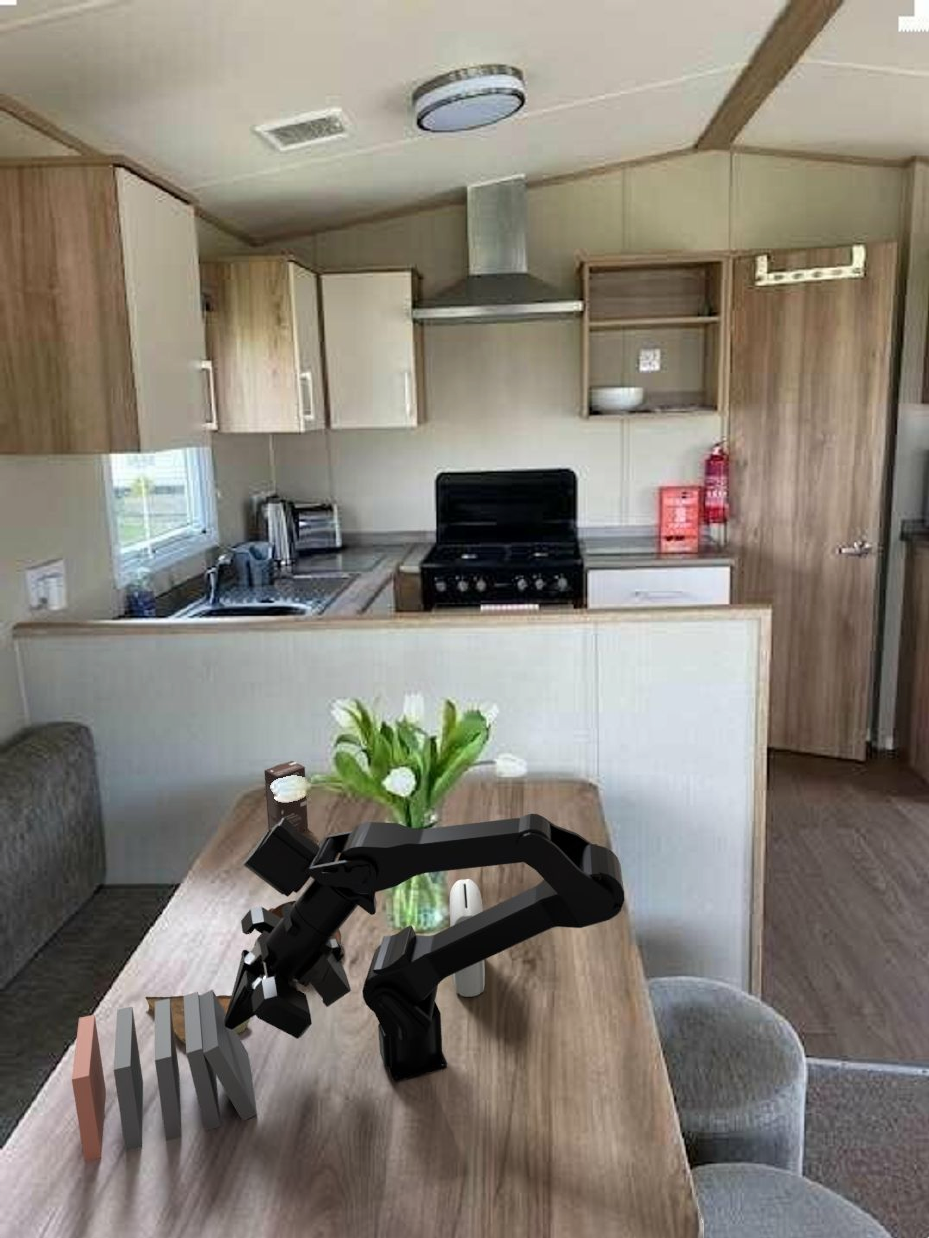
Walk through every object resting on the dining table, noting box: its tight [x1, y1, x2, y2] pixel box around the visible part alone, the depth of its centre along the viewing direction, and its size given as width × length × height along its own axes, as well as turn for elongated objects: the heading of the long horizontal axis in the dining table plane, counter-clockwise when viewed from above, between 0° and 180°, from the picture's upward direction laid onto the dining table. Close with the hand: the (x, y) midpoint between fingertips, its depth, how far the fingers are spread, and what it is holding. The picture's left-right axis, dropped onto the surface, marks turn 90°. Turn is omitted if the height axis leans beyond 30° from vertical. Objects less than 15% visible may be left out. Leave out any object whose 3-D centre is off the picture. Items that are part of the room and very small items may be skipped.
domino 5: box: [199, 989, 258, 1122], centre depth 104 cm, size 2×10×10 cm, turn 16°
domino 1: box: [71, 1014, 107, 1163], centre depth 100 cm, size 2×10×10 cm, turn 18°
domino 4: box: [183, 991, 221, 1132], centre depth 103 cm, size 2×10×10 cm, turn 18°
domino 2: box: [113, 1006, 144, 1152], centre depth 101 cm, size 2×10×10 cm, turn 18°
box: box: [264, 760, 309, 832], centre depth 165 cm, size 6×4×12 cm
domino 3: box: [154, 999, 183, 1142], centre depth 102 cm, size 2×10×10 cm, turn 18°
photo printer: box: [449, 878, 486, 998], centre depth 123 cm, size 10×4×12 cm, turn 2°
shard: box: [145, 994, 251, 1045], centre depth 118 cm, size 13×9×2 cm
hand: (227, 1026), depth 105 cm, fingers closed
